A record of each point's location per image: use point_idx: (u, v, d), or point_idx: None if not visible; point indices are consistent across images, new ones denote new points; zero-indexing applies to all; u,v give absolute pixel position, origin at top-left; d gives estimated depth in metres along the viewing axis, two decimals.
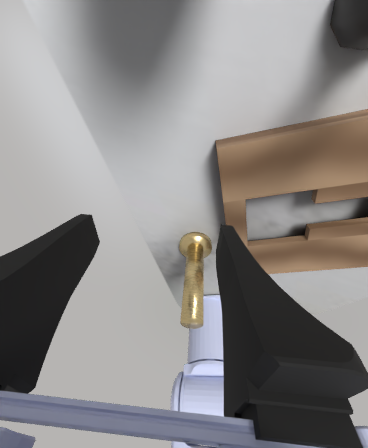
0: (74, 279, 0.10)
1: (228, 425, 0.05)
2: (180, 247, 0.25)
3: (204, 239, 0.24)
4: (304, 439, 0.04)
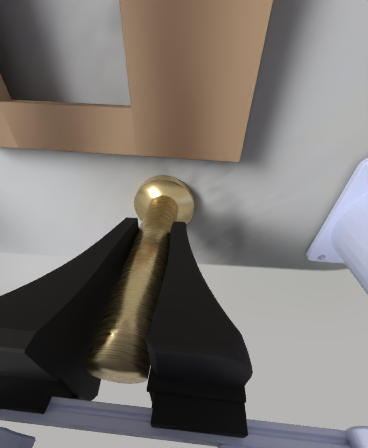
0: None
1: None
2: None
3: (142, 189, 0.13)
4: (192, 426, 0.05)
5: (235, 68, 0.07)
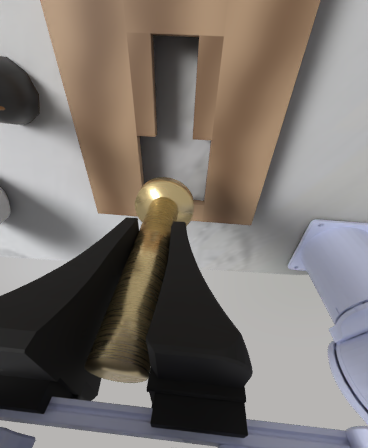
0: None
1: None
2: None
3: (141, 192, 0.13)
4: (192, 426, 0.05)
5: (250, 194, 0.18)
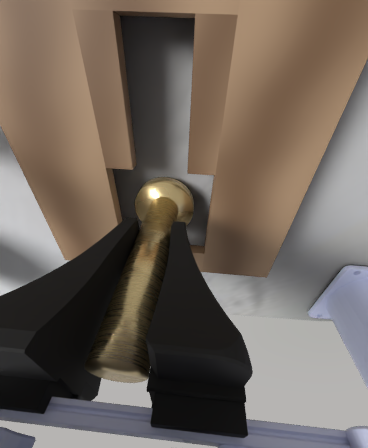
0: None
1: None
2: None
3: (141, 191, 0.13)
4: (192, 426, 0.05)
5: (269, 243, 0.13)
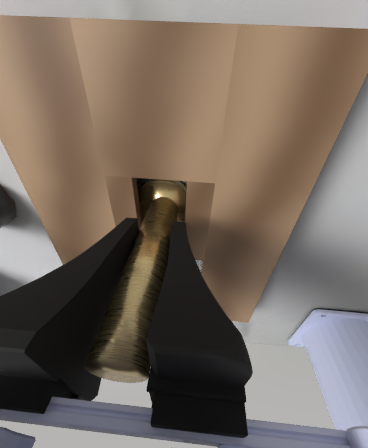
0: None
1: None
2: None
3: (141, 192, 0.13)
4: (192, 425, 0.05)
5: (247, 301, 0.17)
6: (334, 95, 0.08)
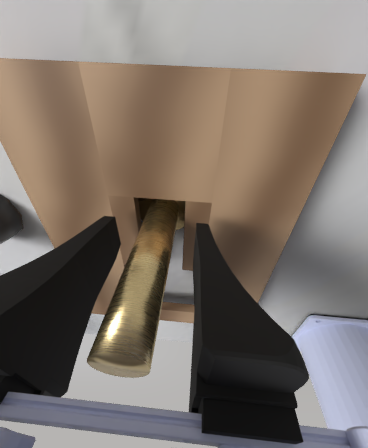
0: (100, 281, 0.10)
1: None
2: None
3: None
4: (245, 432, 0.05)
5: None
6: (320, 128, 0.09)
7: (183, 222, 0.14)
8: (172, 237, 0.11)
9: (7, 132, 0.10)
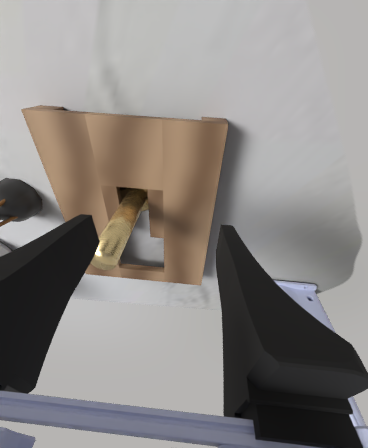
0: (74, 279, 0.10)
1: (228, 425, 0.05)
2: None
3: None
4: (304, 438, 0.04)
5: (196, 267, 0.25)
6: (213, 149, 0.16)
7: None
8: (138, 210, 0.18)
9: (42, 147, 0.17)
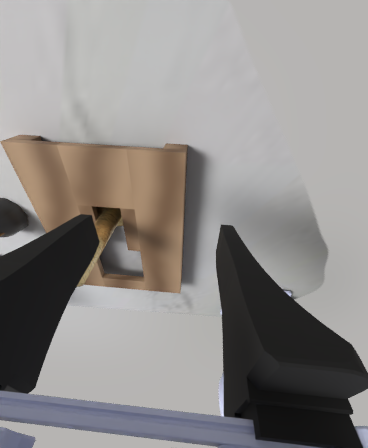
0: (74, 279, 0.10)
1: (228, 425, 0.05)
2: None
3: None
4: (304, 439, 0.04)
5: (174, 277, 0.26)
6: (175, 174, 0.18)
7: None
8: (111, 228, 0.20)
9: (22, 173, 0.19)
